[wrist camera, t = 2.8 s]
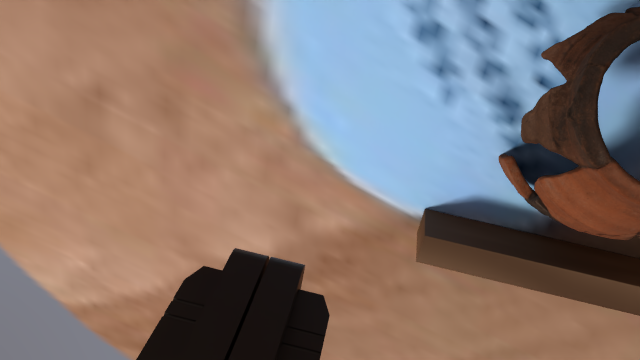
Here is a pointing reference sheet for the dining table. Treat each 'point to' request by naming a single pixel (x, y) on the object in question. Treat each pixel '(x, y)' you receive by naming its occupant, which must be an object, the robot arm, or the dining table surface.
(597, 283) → the bay
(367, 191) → the dining table surface
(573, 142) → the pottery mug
